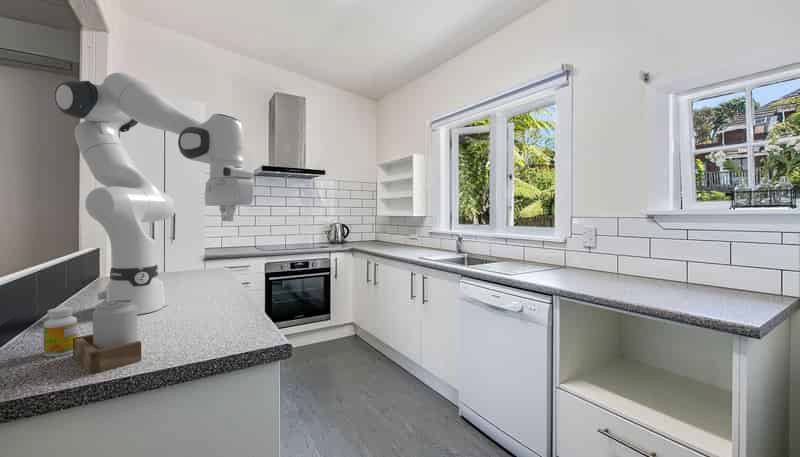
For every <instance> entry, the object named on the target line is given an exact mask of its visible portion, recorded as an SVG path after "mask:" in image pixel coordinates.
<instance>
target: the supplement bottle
mask: <svg viewBox="0 0 800 457" xmlns="http://www.w3.org/2000/svg"><path fill="white" fill-rule="evenodd" d="M73 312H74V308H73V307H72V306H62V307H56V308H55V307H54V308H51V309H48V310H47V318H48V319H47V320H45V321H44V322H43V355H44V356H45V357H59V356H64V355H68V354H71V353H72V354H73V338H76V337H79V336H78V319H77V317H76V316H73Z"/></svg>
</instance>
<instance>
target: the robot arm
mask: <svg viewBox="0 0 800 457" xmlns="http://www.w3.org/2000/svg"><path fill="white" fill-rule="evenodd" d="M54 101H55V103H56V106H57V108H58V110H60V112H61V113H63V114H65V115H67V116H69V117H72V118H76V119H79V120H80V119H83V120H84V121H82V122H80V123H78V124H77V125H76V126H75V128H74V137H75V140H76V143H77V146H78V149H79V151H80V153H81V155H82V158H83V160H84V161H85V163H86V165H87V167H88V168H89V171H90V172H91V174H92V176H93V177H94V178H95V180H96V181H97V182H98V183H99V184H101V185H103V187H96V188H93V189H92V190H91V191H90V192H89V193H88V194H87V196H86V198H85V203H84V204H85V210H86V211H87V214H88V215H89V216H90V217H91V218H92V219H94V220H96V221H97V222H98V223H99V224H100V226H102V228H103V229H104V231H105V232H106V233H107V236H108V239H109V242H110V248H111V259H112V260H111V261H112V262H111V263H112V267H111V268H110V271H109V282H108V284H107V285H106V287H105V288H104V290H102V292H101V291H100V292H98V293H97V298H98V301H100V300H101V303H102V302H106V301H112V300H122V299H129V300H133V304H134V305H136V306H137V316H138V315H142V314H147V313H152V312H156V311H158V310H161V309H163V308H164V307H167V306H169V305H170V302H169V301H168V300H165V294H164V283H163V281H162V279H160V278H158V275H159V268H158V267H159V266H158V265H157V247H156V245H157V244H156V241H155V240H154V239H153V238H152V237H151V236H149V235H148V234H147V233H146V232H145V230H144V228H143V225H142V223H156V222H160V221H164V220H166V219H169V218H170V217H171V216H172V214H173V213H174V210H175V209H174V208H175V204H174V200H173V198H172V197H171V195H170V194H167V193H166V192H164V191H162V190H161V189H159V188H158V187H157V186H155V185H154V184H153V183H152V182H151V181H150V180H149V179H148V178H147V177H146V176H145V175H144V174H143V172H141V171H140V169H139V168H138V167H137V165H136V164H135V163H134V161H133V160H132V158H131V156H130V154H129V152H128V151H127V149H126V148H125V146H124V143H123V142H122V141H121V139H120V135H119V132H120V133H125V132H129V131H130V130H131V128H133V127H135V126H136V125H138V124H139V123H140V124H142V125H144V126H147V127H150V128H154V129H158V130H162V131H165V132H169V133H173V134H176V135H178V139H177V140H178V141H177V145H178V150H179V152H180V154H181V155H182V156H183V157H184V158H186V159H189V160H191V161H195V162H199V163H204V164H208V165H209V178H208V180H207V181H206V183H205V191H204V203H205V205H206V206H219V208H218V209H219V212H220V214H221V221H222V222H234V215H235V212H236V210H237V206H251V205H252V203H253V201H254V181H253V180H254V178H255V171H254V170H251V169H249V168H247V167H245V159H244V151H245V132H244V127H243V123H242V122H241V121H240V120H239V119H237V118H235V117H233V116H231V115H227V114H223V113H214V114H211V116H210V117H209V118H208V120H206V121H204V122H202V123H200V122H199V121H197V120H195V119H194V118H193V117H191V116H189V115H188V114H187V113H185V112H184V111H183V110H181V109H180V108H179V107H177V106H176V105H175V104H173V103H172V102H171V101H170V100H169V99H167V98H166V97H165V96H164V95H163V94H161V93H159V92H158V91H157V90H156V89H154V88H153V87H152V86H150V85H149V84H147V83H145V82H144V81H142V80H140V79H138V78H136V77H135V76H132V75H129V74H127V73H124V72H113V73H110V74H109V75H107V76H106V77H105V78H104V80H103V82H102V83H100V84H94V83H92V82H91V81H89V80H66V81H63V82H61V83H60V84H59V85H58V86H56V89H55V91H54ZM96 305H97V304H95V306H94V308H95V309H96V308H97V306H96ZM95 309H94V310H95Z"/></svg>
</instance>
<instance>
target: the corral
mask: <svg viewBox="0 0 800 457" xmlns="http://www.w3.org/2000/svg"><path fill="white" fill-rule="evenodd" d="M72 356H73V358H74V359H75V360H76V361H77V362H79V363H80V364H81V366H83V367H84V368H85V369H86V370H87V371H89V373H90V374H91V375H95V374H98V373H102V372H104V371H105V372H106V371H109V370H112V369H116V368H119V367H123V366H126V365H132V364H134V363H139V362H141V361H142V341H140V340H138V341H136V342H131V343H127V344H123V345H119V346H115V347H110V348H106V349H102V350H97V349H96V348H94V347H93V333H92V334H87V335H86V334H85V335H83V336H82V335H81V336H78V337H76V338H73V352H72Z"/></svg>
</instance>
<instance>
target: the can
mask: <svg viewBox="0 0 800 457" xmlns="http://www.w3.org/2000/svg"><path fill="white" fill-rule="evenodd" d="M95 305H96V306H97V308H96V309H94V310H93V311H92V334H93V347H94V348H96V349H97V350H102V349H106V348H110V347H115V346H119V345H123V344H127V343H131V342H136V341H139V339H138V338H139V337H138V315H137V306H136V305H134V304H133V300H129V299H122V300H112V301H106V302H102V301H101V302H99V303H96V304H95Z"/></svg>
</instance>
